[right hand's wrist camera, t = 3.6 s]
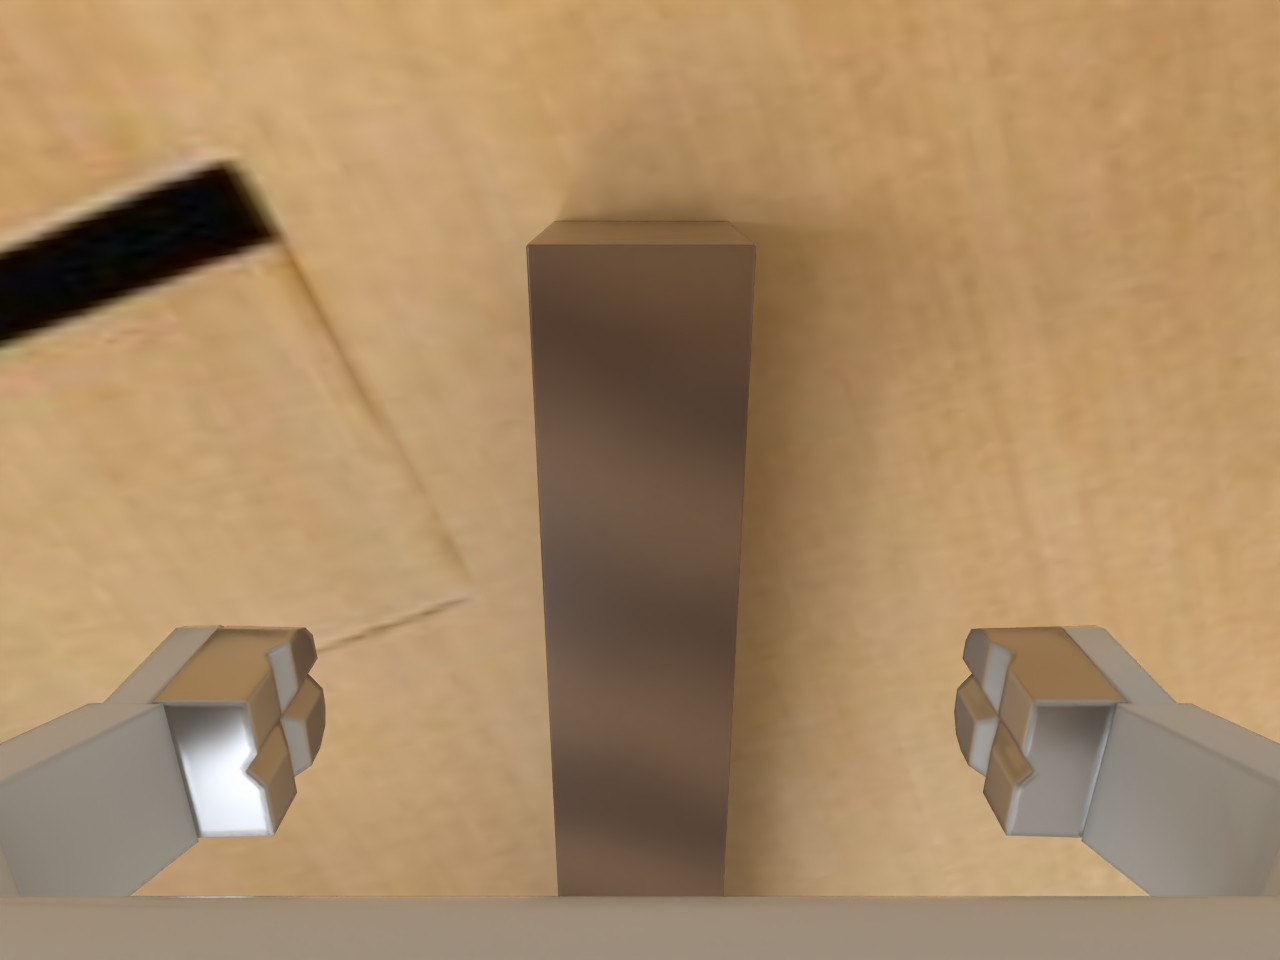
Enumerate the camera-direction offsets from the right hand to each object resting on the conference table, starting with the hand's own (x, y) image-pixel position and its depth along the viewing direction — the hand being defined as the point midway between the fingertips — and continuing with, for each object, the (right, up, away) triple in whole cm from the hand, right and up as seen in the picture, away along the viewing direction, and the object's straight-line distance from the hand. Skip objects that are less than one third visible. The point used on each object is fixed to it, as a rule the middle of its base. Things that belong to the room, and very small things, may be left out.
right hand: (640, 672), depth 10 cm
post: (0, -27, +28) cm, 39 cm away
